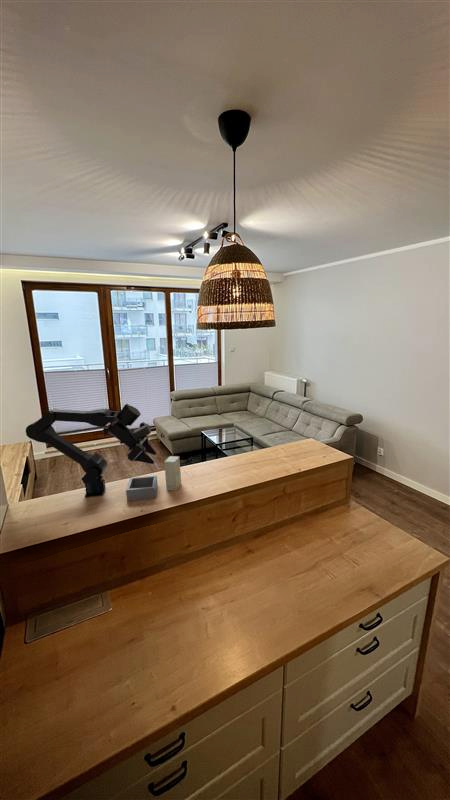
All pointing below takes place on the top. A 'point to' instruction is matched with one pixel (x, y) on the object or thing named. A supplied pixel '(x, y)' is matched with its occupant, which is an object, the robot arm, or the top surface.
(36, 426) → the robot arm
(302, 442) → the top surface
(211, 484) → the top surface
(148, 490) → the gray rectangular frame
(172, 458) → the skincare box
